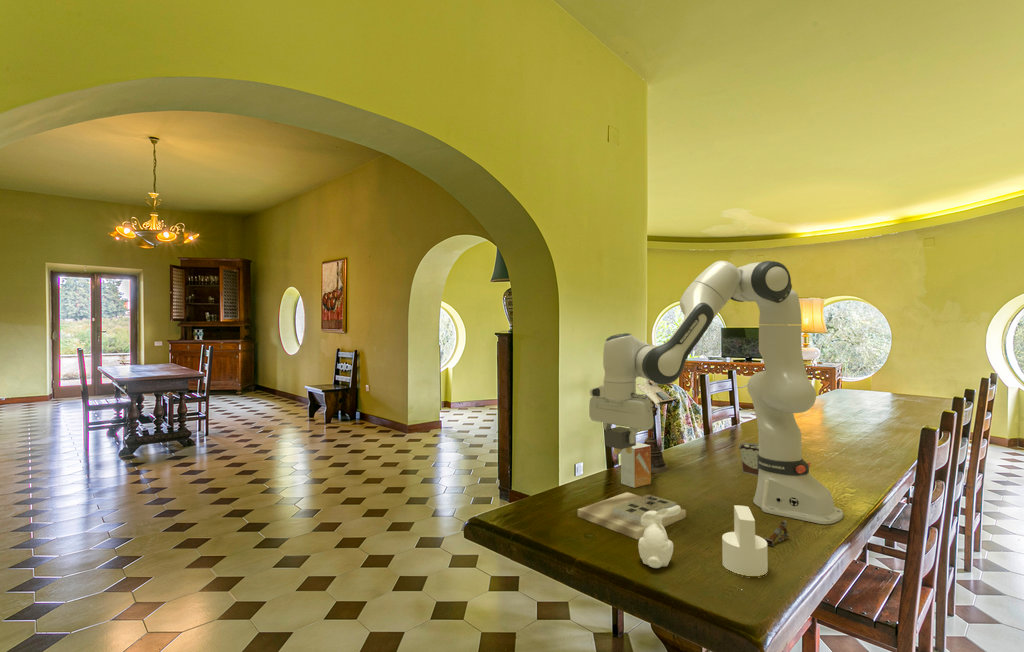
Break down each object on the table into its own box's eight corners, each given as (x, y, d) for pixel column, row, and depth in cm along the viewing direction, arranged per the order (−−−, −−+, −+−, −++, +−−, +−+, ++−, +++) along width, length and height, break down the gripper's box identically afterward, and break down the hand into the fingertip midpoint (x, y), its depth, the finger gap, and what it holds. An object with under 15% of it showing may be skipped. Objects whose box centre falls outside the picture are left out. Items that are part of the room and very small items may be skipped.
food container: (781, 476, 175) (781, 447, 175) (772, 479, 171) (772, 450, 171) (748, 468, 185) (747, 441, 185) (738, 471, 182) (738, 443, 182)
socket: (676, 511, 137) (676, 502, 137) (641, 527, 127) (640, 517, 127) (648, 503, 144) (648, 494, 144) (612, 516, 134) (612, 507, 134)
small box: (634, 488, 164) (634, 448, 164) (620, 483, 169) (620, 444, 169) (651, 484, 168) (651, 445, 168) (637, 479, 173) (636, 441, 173)
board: (685, 517, 139) (685, 510, 139) (637, 539, 125) (637, 531, 125) (626, 498, 154) (626, 492, 154) (577, 516, 140) (577, 509, 140)
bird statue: (688, 471, 182) (687, 374, 182) (665, 477, 174) (664, 377, 174) (651, 461, 195) (650, 371, 195) (628, 467, 188) (627, 373, 188)
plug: (641, 451, 142) (640, 428, 142) (621, 456, 136) (620, 432, 136) (625, 447, 146) (625, 425, 146) (605, 452, 141) (604, 429, 141)
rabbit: (639, 547, 120) (639, 497, 120) (680, 552, 118) (680, 500, 118) (637, 571, 109) (636, 515, 109) (682, 577, 106) (682, 520, 106)
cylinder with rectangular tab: (720, 555, 116) (719, 503, 116) (763, 560, 113) (762, 507, 113) (724, 574, 107) (724, 518, 107) (771, 580, 104) (771, 522, 104)
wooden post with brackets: (793, 535, 124) (788, 519, 123) (776, 556, 120) (771, 540, 119) (785, 532, 126) (781, 517, 125) (768, 553, 122) (764, 537, 121)
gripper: (658, 394, 134) (659, 445, 134) (599, 387, 150) (600, 433, 150) (643, 396, 130) (644, 449, 130) (585, 389, 146) (586, 436, 146)
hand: (620, 441), depth 141 cm, fingers closed on plug, 6 cm apart
